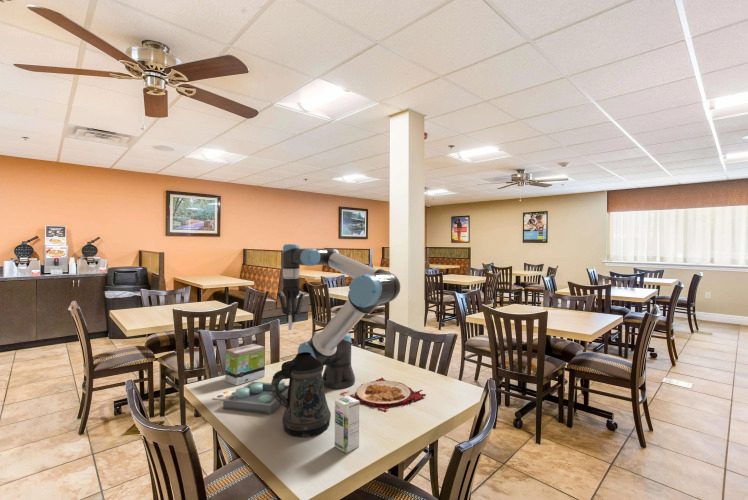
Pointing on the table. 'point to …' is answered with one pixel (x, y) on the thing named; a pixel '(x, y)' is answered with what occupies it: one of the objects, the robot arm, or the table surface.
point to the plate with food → (385, 394)
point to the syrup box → (346, 424)
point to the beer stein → (303, 396)
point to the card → (224, 395)
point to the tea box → (245, 364)
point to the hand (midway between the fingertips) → (291, 329)
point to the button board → (255, 401)
